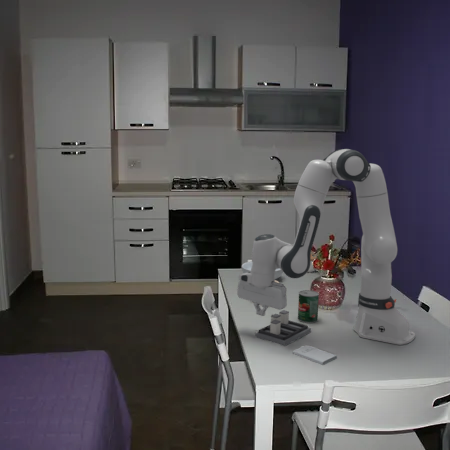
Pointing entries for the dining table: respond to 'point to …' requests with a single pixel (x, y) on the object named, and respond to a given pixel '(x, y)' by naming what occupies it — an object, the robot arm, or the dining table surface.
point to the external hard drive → (314, 354)
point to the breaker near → (284, 316)
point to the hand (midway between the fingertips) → (260, 314)
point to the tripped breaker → (275, 327)
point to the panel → (284, 333)
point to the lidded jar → (311, 263)
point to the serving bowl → (248, 265)
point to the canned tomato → (308, 306)
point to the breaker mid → (276, 317)
